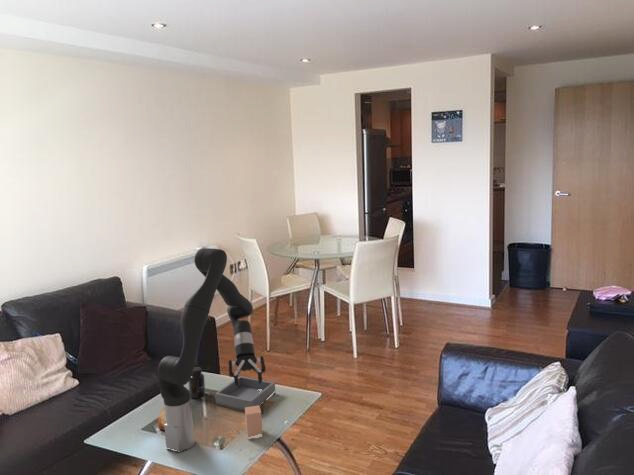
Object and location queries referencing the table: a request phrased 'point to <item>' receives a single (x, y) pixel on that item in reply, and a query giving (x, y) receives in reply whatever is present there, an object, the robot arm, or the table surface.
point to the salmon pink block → (253, 420)
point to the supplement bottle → (197, 383)
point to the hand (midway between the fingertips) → (248, 384)
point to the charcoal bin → (244, 393)
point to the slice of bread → (162, 419)
